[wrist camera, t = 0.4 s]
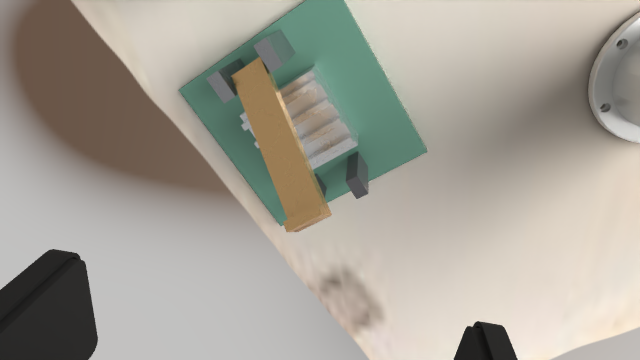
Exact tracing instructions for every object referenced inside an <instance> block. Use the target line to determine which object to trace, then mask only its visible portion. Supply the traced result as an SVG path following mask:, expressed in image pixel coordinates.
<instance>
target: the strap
mask: <svg viewBox="0 0 640 360" xmlns="http://www.w3.org/2000/svg"><path fill="white" fill-rule="evenodd" d="M231 77H232V79H233V82H234V84H235V87H236V89H237V92H238V94H239V97H240V100H241V102H242V105H243V107H244V110H245V112H246V115H247V117H248V120H249V122H250V125H251V128H252V130H253V133H254V135H255V138H256V140H257V143H258V145H259V148H260V150H261V153H262V156H263V158H264V161H265V163H266V166H267V168H268V171H269V173H270V176H271V178H272V181H273V184H274V186H275V189H276V191H277V194H278V196H279V199H280V201H281V204H282V206H283V209H284V212H285V214H286V217H287V219H288V220H286V221H284V222H283V223H284V226H285V229H286V231H287V232H299V231H301V230H303V229H305V228H307V227H309V226H311V225H313V224H315V223H317V222H319V221H321V220H323V219H325V218H327V217H329V216H331V215H332V214H331V212H330V210H329V207H328V205H327V202H326V200H325V198H324V195H323V193H322V191H321V188H320V186H319V184H318V181H317V179H316V177H315V174H314V172H313V170H312V167H311V165H310V162H309V160H308V158H307V155H306V153H305V151H304V148H303V146H302V144H301V141H300V139H299V137H298V134H297V132H296V130H295V127H294V125H293V122H292V120H291V118H290V115H289V113H288V111H287V108H286V106H285V104H284V101H283V99H282V97H281V94H280V92H279V90H278V87H277V85H276V82H275V80H274V78H273V75H272V73H270V71H269V70H268V68H267V67H266V65H265V64H264V62H263V60H262V59H261V57H258V58H257V59H256V60H254V61H253V62H251V63H250V64H248V65H247V66H245V67H244V68H242V69H241V70H239V71H238V72H236V73H235V74H233V75H232V76H231Z"/></svg>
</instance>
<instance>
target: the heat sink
mask: <svg viewBox="0 0 640 360" xmlns="http://www.w3.org/2000/svg"><path fill="white" fill-rule="evenodd" d="M253 47H254V48H255V50H256V51H257V53H258V54H259V56H260V57H261V59H262V60H263V62H264V64H265V65H266V67H267V68H268V70H269V71H270V73H272V72H273V71H275V70H276V69H278V68H279V67H281V66H282V65H284V64H285V63H286V62H287V61H288V60H289V59H290V58H291V57H292V56H293V55H294V54H295V53H296V52H295V51H294V49H293V47H292V46H291V44H290V43H289V41H288V39H287V38H286V36H285V35H284V33H283V31H282V30H279V31H277V32H275V33H273V34H271V35H269V36H267V37H265V38H264V39H262V40H261V41H260V42H258V43H257V44H255V45H254V46H253ZM244 67H245V65H244V63H243V62H242V60H241V59H240V58H239V59H237V60H236V61H234V62H232V63H230V64H228V65H227V66H225V67H223V68H221V69H220V70H218V71H216V72H215V73H214V74H212V75H211V76H209V77H208V78H206V79H207V81H208V82H209V83H210V85H211V86H212V88H213V89H214V90H215V92H216V93H217V95H218V96H219V97H220V99H221V100H222V101H223V103H224V104H225V103H226V102H228V101H229V100H231V99H232V98H234V97H235V96H236V95H238V92H237V89H236V87H235V84H234V82H233V79H232V77H231V76H232V75H233V74H235V73H236V72H238V71H239V70H241V69H242V68H244ZM278 90H279V92H280V94H281V97H282V99H283V101H284V104H285V106H286V108H287V111H288V113H289V115H290V118H291V120H292V122H293V125H294V127H295V130H296V132H297V134H298V137H299V139H300V141H301V144H302V146H303V148H304V151H305V153H306V155H307V158H308V160H309V162H310V165H311V167H312V170H313V169H315V168H317V167H319V166H321V165H323V164H324V163H326V162H328V161H330V160H332V159H334V158H335V157H337V156H339V155H341V154H343V153H345V152H346V151H348V150H350V149H352V148H354V147H356V146H357V145H358V133H357V131H356V130H355V128H354V126H353V125H352V123H351V122H350V120H349V118H348V117H347V115H346V113H345V112H344V110H343V108H342V107H341V105H340V104H339V102H338V100H337V99H336V97H335V95H334V94H333V92H332V90H331V89H330V87H329V86H328V84H327V82H326V81H325V79H324V77H323V76H322V74H321V73H320V71H319V69H318V68H317V66H316V64H315V65H313V66H312V67H310V68H308V69H307V70H305V71H304V72H302V73H301V74H299V75H297V76H296V77H294V78H293V79H291V80H290V81H288V82H287V83H285V84H283V85H282V86H280V87H279V88H278ZM240 117H241V119H242V120H243V122H244V123H243V124H242V125H241V126H242V128H243V129H244V130H247V129H249V130H250V131H251V133H252V134H253V136H254V137H255V135H254V133H253V130H252V128H251V125H250V122H249V120H248V117H247V115H246V112H245V111H244V112H243V113H242V114H241V115H240ZM254 144H255V146H256V147H257V148H259V145H258V143H257V140H256V141H255V142H254Z"/></svg>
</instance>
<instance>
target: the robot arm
mask: <svg viewBox="0 0 640 360" xmlns="http://www.w3.org/2000/svg"><path fill="white" fill-rule="evenodd" d="M618 41H619V44H618V45H617V43H618ZM588 96H589V103H590V106H591V109H592V112H593V114H594V116H595V117H596V119H597V120H598V122H599V123H600V124H601V125H602V126H603V127H604V128H605V129H606V130H608V131H609V132H611V133H613V134H614V135H616V136H618V137H620V138H622V139H624V140H627V141H631V142H635V143H640V12H639V13H637V14H636V15H634V16H633V17H632V18H630V19H629V20H628V21H626V22H625V23H624V24H623V25H622V26H621V27H619V28H618V29H617V30H616V31H615V32H614V33H613V34H612V35H611V37H610V38H609V39H608V41H607V42H606V43H605V45H604V46H603V47H602V49H601V51H600V52H599V54H598V56H597V58H596V60H595V62H594V64H593V67H592V70H591V73H590V78H589V85H588ZM601 105H603V106H602V107H601ZM97 341H98V337H97V331H96V325H95V318H94V313H93V306H92V300H91V294H90V288H89V282H88V276H87V270H86V264H85V262H84V261H83V260H81V259H80V256H79V255H78V254H77V253H72V252H67V251H61V250H55V249H52V250H49V251H47V252H46V253H45V254H43V255H42V256H41V257H40V258H38V259H37V260H36V261H35V262H34V263H32V264H31V265H30V266H29V267H28V268H26V269H25V270H24V271H23V272H22V273H20V274H19V275H18V276H17V277H15V278H14V279H13V280H12V281H11V282H9V283H8V284H7V285H6V286H5V287H3V288H2V289H1V290H0V360H88V359H89V358H90V357H91V355H92V354H93V352H94V351H95V348H96V346H97ZM454 360H518V359H517V357H516V354H515V352H514V349H513V347H512V344H511V342H510V339H509V337H508V335H507V332H506V330H505V328H504V327H503V326H502V325H497V324H491V323H485V322H479V321H477V322H476V323H475V324H474V326H473V327H471V326H468V327H466V329H465V331H464V334H463V337H462V339H461V342H460V344H459V347H458V350H457V352H456V355H455V357H454Z"/></svg>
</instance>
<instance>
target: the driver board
mask: <svg viewBox="0 0 640 360" xmlns="http://www.w3.org/2000/svg"><path fill="white" fill-rule="evenodd" d="M279 30H282V31H283V33H284V35H285V36H286V38H287V39H288V41H289V43H290V44H291V46H292V47H293V49H294V51H295V52H296V53H295V54H294V55H293V56H292V57H291V58H290V59H289V60H288V61H287V62H286V63H285V64H284V65H282V66H281V67H279V68H278V69H276V70H275V71H273V72H272V75H273V78H274V80H275V82H276V85H277V87H278V88H279V87H280V86H282V85H283V84H285V83H287V82H288V81H290V80H291V79H293V78H294V77H296V76H297V75H299V74H301V73H302V72H304V71H305V70H307V69H308V68H310V67H312V66H313V65H315V64H316V66H317V68H318V69H319V71H320V73H321V74H322V76H323V77H324V79H325V81H326V82H327V84H328V86H329V87H330V89H331V90H332V92H333V94H334V95H335V97H336V99H337V100H338V102H339V104H340V105H341V107H342V108H343V110H344V112H345V113H346V115H347V117H348V118H349V120H350V122H351V123H352V125H353V126H354V128H355V130H356V131H357V133H358V145H357V146H356V147H354V148H352V149H350V150H348V151H346V152H345V153H343V154H341V155H339V156H337V157H335V158H334V159H332V160H330V161H328V162H326V163H324V164H323V165H321V166H319V167H317V168H315V169H313V172H314V174H315V177H316V179H317V181H318V184H319V186H320V188H321V191H322V193H323V195H324V198H325V200H326V202H329V201H331V200H333V199H335V198H337V197H339V196H341V195H343V194H345V193H347V192H349V191H352V193H353V194H354V196H355V197H356V199H358V198H360V197H362V196H364V195H366V194H368V182H369V181H371V180H373V179H375V178H377V177H379V176H380V175H382V174H384V173H386V172H388V171H390V170H392V169H394V168H396V167H398V166H400V165H402V164H404V163H406V162H408V161H410V160H412V159H414V158H416V157H418V156H420V155H422V154H424V153H426V152H427V149H426V147H425V145H424V143H423V142H422V140H421V138H420V136H419V134H418V133H417V131H416V129H415V127H414V125H413V124H412V122H411V120H410V118H409V116H408V115H407V113H406V111H405V109H404V107H403V106H402V104H401V102H400V100H399V98H398V97H397V95H396V93H395V91H394V89H393V88H392V86H391V84H390V82H389V80H388V79H387V77H386V75H385V73H384V71H383V70H382V68H381V66H380V64H379V62H378V61H377V59H376V57H375V55H374V53H373V52H372V50H371V48H370V46H369V44H368V43H367V41H366V39H365V37H364V35H363V34H362V32H361V30H360V28H359V26H358V25H357V23H356V21H355V19H354V17H353V16H352V14H351V12H350V10H349V8H348V7H347V5H346V3H345V1H344V0H306V1H305V2H303V3H302V4H300V5H299V6H297V7H296V8H295V9H293V10H292V11H290V12H289V13H288V14H286V15H285V16H283V17H282V18H280V19H279V20H278V21H276V22H275V23H273V24H272V25H270V26H269V27H268V28H266V29H265V30H263V31H262V32H260V33H259V34H258V35H256V36H255V37H253V38H252V39H251V40H249V41H248V42H246V43H245V44H243V45H242V46H241V47H239V48H238V49H236V50H235V51H233V52H232V53H231V54H229V55H228V56H226V57H225V58H223V59H222V60H221V61H219V62H218V63H216V64H215V65H213V66H212V67H211V68H209V69H208V70H206V71H205V72H204V73H202V74H201V75H199V76H198V77H196V78H195V79H194V80H192V81H191V82H189V83H188V84H186V85H185V86H184V87H182V88H181V89H179V91H180V93H181V94H182V95H183V97H184V98H185V99H186V101H187V102H188V103H189V105H190V106H191V107H192V109H193V110H194V111H195V113H196V114H197V115H198V117H199V118H200V119H201V121H202V122H203V123H204V125H205V126H206V127H207V129H208V130H209V131H210V133H211V134H212V135H213V137H214V138H215V139H216V141H217V142H218V143H219V145H220V146H221V147H222V149H223V150H224V151H225V153H226V154H227V155H228V157H229V158H230V159H231V161H232V162H233V163H234V165H235V166H236V167H237V169H238V170H239V171H240V173H241V174H242V175H243V177H244V178H245V179H246V181H247V182H248V183H249V185H250V186H251V187H252V189H253V190H254V191H255V193H256V194H257V195H258V197H259V198H260V199H261V201H262V202H263V203H264V205H265V206H266V207H267V209H268V210H269V211H270V213H271V214H272V215H273V217H274V218H275V219H276V221H277V222H278V223H279V225H280V226H282V225H284V223H283V222H284V221H286V220H288V219H287V217H286V214H285V212H284V209H283V206H282V204H281V201H280V199H279V196H278V194H277V191H276V189H275V186H274V184H273V181H272V178H271V176H270V173H269V171H268V168H267V166H266V163H265V161H264V158H263V156H262V153H261V150H260V148H257V147H256V146H255V144H254V142H255V141H256V138H255V137H254V136H253V134H252V133H251V131H250V130H249V129H247V130H244V129H243V128H242V126H241V125H242V124H243V123H244V122H243V120H242V119H241V117H240V115H241V114H242V113H243V112H244V111H245V110H244V107H243V105H242V102H241V100H240V97H239V94H238V95H236V96H235V97H234V98H232V99H231V100H229V101H228V102H226V103H225V104H224V103H223V101H222V100H221V99H220V97H219V96H218V95H217V93H216V92H215V90H214V89H213V88H212V86H211V85H210V83H209V82H208V81H207V79H206V78H208V77H209V76H211V75H212V74H214V73H215V72H216V71H218V70H220V69H221V68H223V67H225V66H227V65H228V64H230V63H232V62H234V61H236V60H237V59H239V58H240V59H241V60H242V62H243V63H244V65H245V66H247V65H248V64H250V63H251V62H253V61H254V60H256V59H257V58H258V57H260V56H259V54H258V53H257V51H256V50H255V48H254V47H253V46H254V45H255V44H257V43H258V42H260V41H261V40H262V39H264V38H265V37H267V36H269V35H271V34H273V33H275V32H277V31H279Z"/></svg>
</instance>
